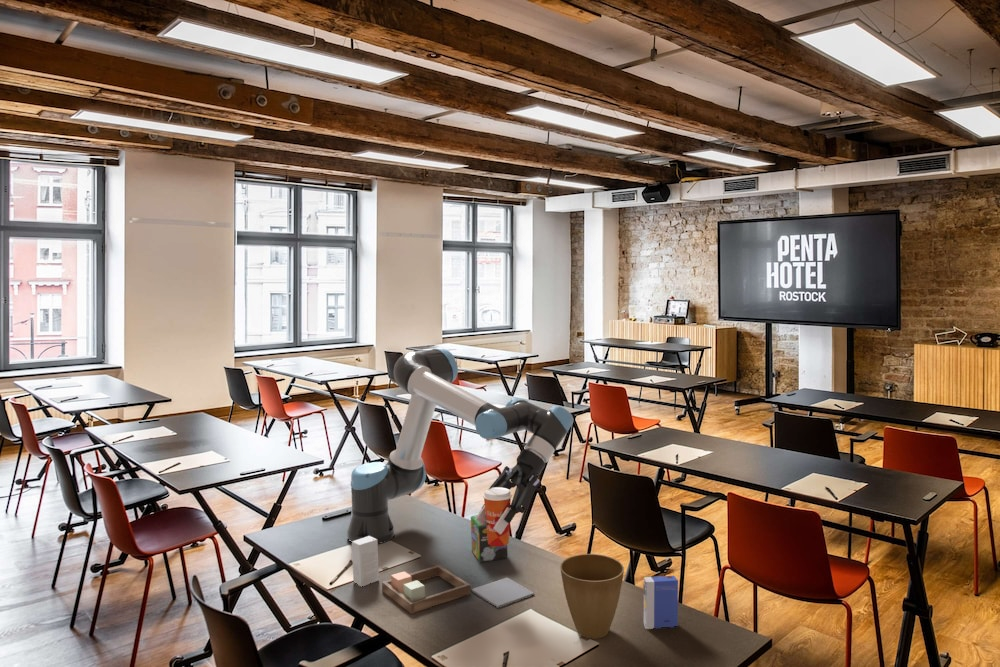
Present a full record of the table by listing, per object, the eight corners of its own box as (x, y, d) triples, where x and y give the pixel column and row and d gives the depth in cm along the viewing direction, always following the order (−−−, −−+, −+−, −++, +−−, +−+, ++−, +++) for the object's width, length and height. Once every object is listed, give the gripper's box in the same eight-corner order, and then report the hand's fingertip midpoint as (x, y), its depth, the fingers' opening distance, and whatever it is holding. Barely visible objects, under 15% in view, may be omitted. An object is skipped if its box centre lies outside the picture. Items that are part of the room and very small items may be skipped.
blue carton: (673, 621, 169) (674, 573, 168) (677, 627, 166) (678, 578, 165) (642, 623, 168) (642, 575, 167) (645, 629, 165) (646, 580, 164)
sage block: (404, 602, 181) (403, 584, 180) (417, 598, 183) (417, 580, 183) (411, 608, 177) (411, 589, 177) (425, 604, 180) (424, 585, 179)
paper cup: (477, 543, 184) (476, 491, 183) (497, 535, 189) (496, 484, 188) (499, 550, 178) (498, 497, 177) (519, 542, 184) (518, 490, 183)
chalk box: (499, 547, 217) (498, 501, 215) (508, 558, 208) (508, 510, 207) (470, 551, 214) (469, 504, 212) (479, 563, 205) (478, 514, 204)
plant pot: (561, 614, 173) (560, 552, 172) (621, 617, 171) (621, 554, 170) (560, 646, 158) (559, 579, 157) (626, 649, 157) (626, 581, 155)
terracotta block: (391, 593, 186) (391, 575, 186) (404, 589, 189) (404, 571, 188) (398, 598, 183) (398, 580, 183) (411, 594, 185) (411, 576, 185)
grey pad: (471, 591, 186) (471, 589, 186) (507, 579, 194) (507, 577, 193) (497, 608, 177) (497, 606, 177) (534, 595, 184) (534, 592, 184)
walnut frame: (382, 591, 187) (381, 582, 187) (439, 573, 198) (439, 565, 198) (411, 613, 174) (410, 604, 174) (470, 593, 185) (470, 584, 185)
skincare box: (370, 576, 197) (369, 535, 196) (379, 580, 194) (378, 539, 193) (352, 582, 193) (351, 541, 192) (360, 587, 190) (359, 545, 189)
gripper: (567, 472, 183) (519, 546, 175) (519, 456, 200) (474, 523, 192) (551, 455, 179) (502, 530, 171) (504, 441, 196) (457, 508, 188)
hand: (487, 526), depth 181 cm, fingers closed on paper cup, 8 cm apart
